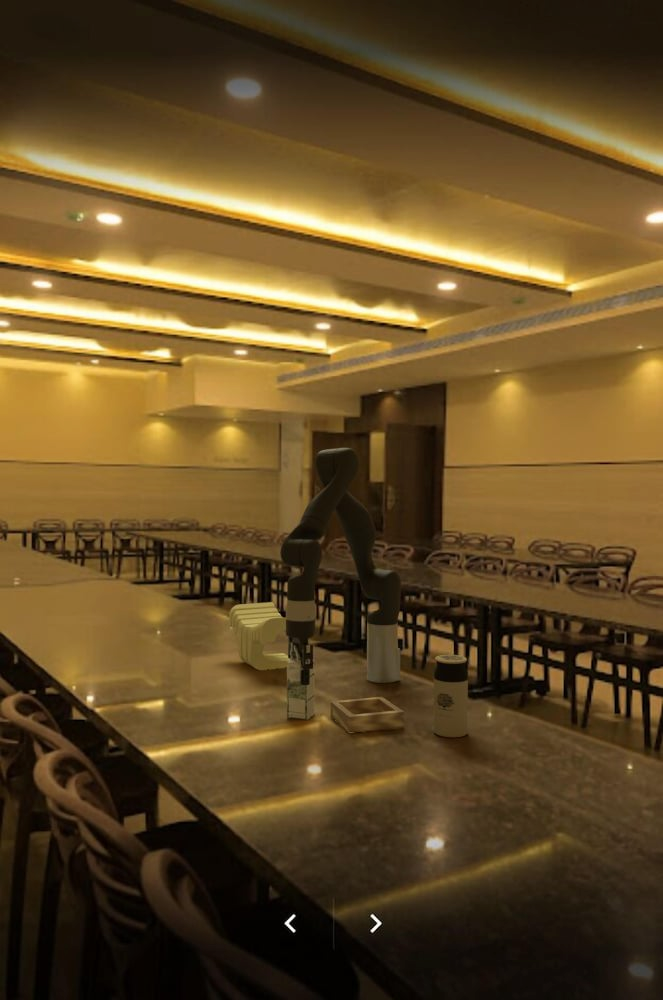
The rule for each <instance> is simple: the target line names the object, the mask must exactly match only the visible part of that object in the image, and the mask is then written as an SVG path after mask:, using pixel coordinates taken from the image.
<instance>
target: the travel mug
mask: <svg viewBox="0 0 663 1000" xmlns="http://www.w3.org/2000/svg"><path fill="white" fill-rule="evenodd" d="M434 659H435V662H436V666H435V669H434V670H433V733H434V734H435V735H437V736H440V737H443V738H449V739H450V738H451V739H453V738H454V739H457V738H463V737H464V736H466V735H467V734H468V717H469V716H468V714H469V713H468V709H469V707H468V704H469V703H468V699H469V696H468V695H469V694H468V693H469V692H468V691H469V689H468V688H469V686H468V685H469V684H468V683H469V673H468V670H467V668H466V663H467V661H468V659H467V657H466V656H463V655H457V654H441V655H437V656H435V658H434Z"/></svg>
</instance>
